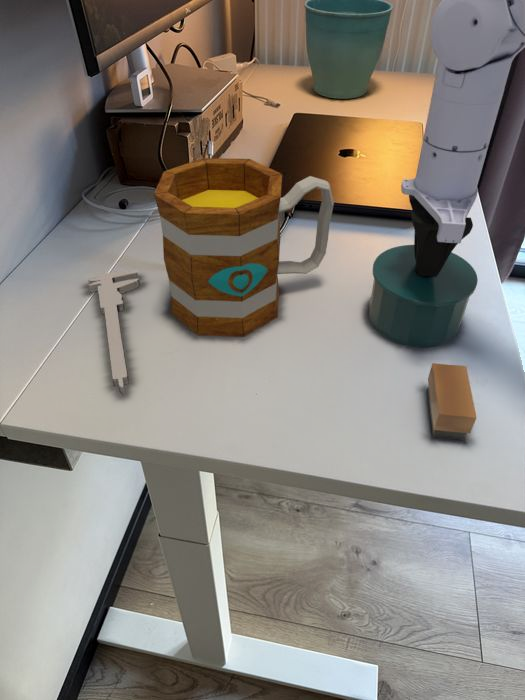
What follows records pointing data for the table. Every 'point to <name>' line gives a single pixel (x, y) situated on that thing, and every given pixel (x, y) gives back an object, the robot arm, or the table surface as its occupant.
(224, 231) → the mug
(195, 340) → the table surface
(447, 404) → the tall bronze cuboid
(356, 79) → the flower pot
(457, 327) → the pot
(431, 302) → the pot lid
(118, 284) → the caliper
